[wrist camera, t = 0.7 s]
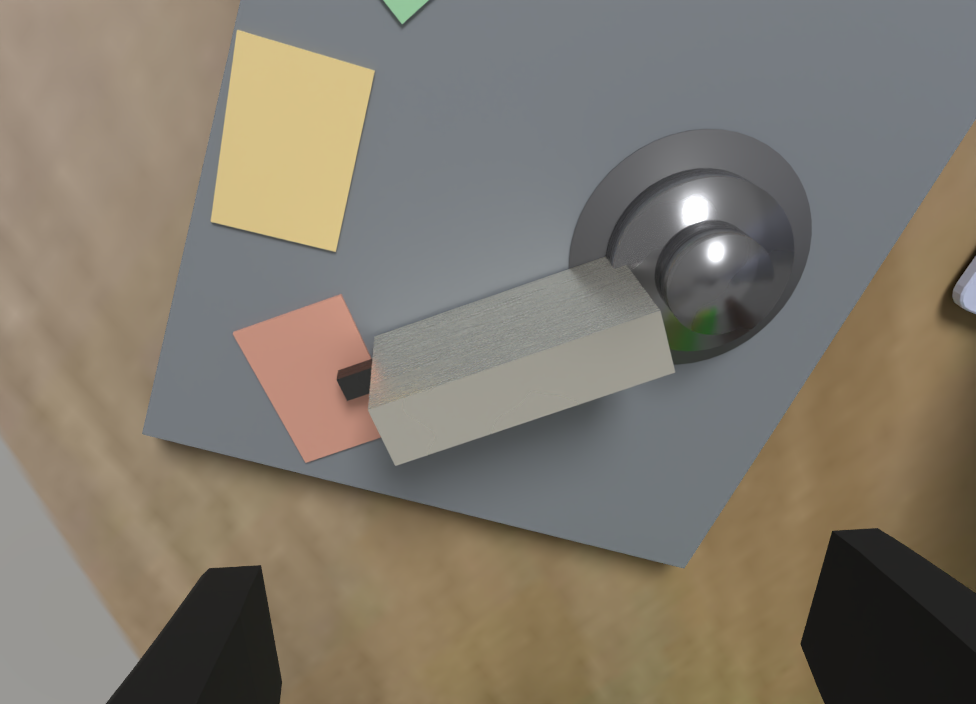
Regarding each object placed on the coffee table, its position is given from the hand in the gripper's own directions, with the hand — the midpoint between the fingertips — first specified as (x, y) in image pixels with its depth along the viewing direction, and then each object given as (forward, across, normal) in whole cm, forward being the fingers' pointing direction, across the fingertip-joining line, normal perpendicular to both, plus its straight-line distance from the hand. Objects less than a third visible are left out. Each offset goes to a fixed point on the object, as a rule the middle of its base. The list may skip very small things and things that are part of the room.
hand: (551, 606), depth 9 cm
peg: (+9, -2, 0) cm, 9 cm away
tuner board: (+10, -2, -3) cm, 11 cm away
